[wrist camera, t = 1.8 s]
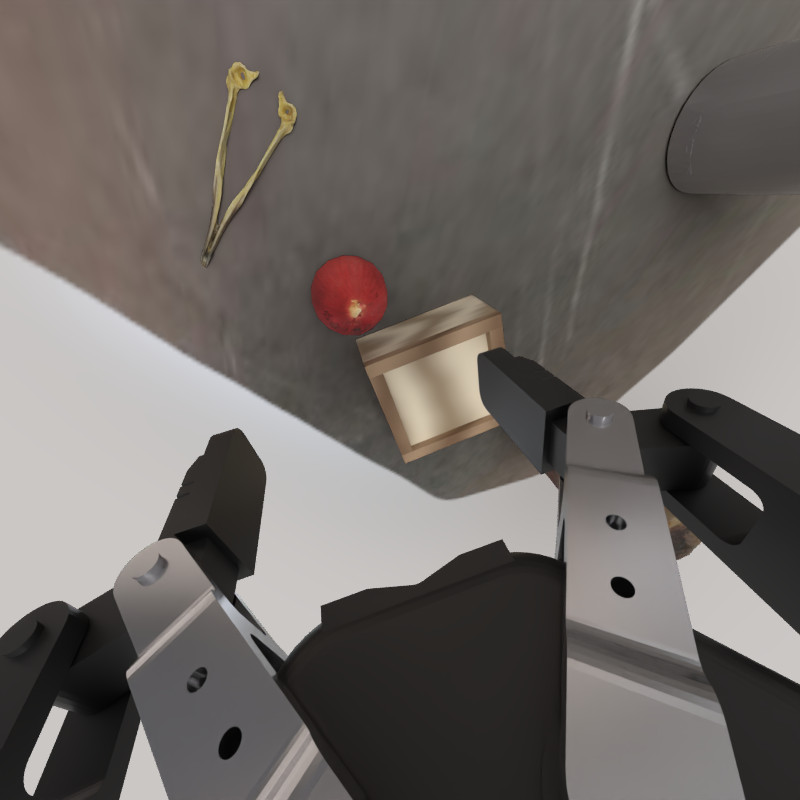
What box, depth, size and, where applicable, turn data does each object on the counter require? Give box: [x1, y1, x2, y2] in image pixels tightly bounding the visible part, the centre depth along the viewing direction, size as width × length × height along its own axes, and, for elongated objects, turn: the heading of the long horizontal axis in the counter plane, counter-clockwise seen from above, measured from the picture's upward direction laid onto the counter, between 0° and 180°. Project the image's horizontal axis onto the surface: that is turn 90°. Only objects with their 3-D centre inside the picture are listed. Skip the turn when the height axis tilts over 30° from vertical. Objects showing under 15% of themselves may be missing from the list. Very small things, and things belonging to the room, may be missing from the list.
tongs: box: [201, 62, 297, 268], centre depth 23 cm, size 4×13×2 cm, turn 152°
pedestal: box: [356, 295, 505, 463], centre depth 32 cm, size 12×12×6 cm
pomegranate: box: [311, 255, 387, 335], centre depth 25 cm, size 6×6×8 cm
